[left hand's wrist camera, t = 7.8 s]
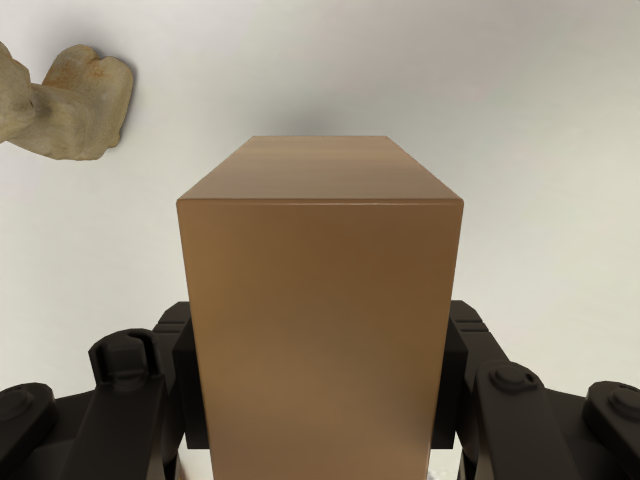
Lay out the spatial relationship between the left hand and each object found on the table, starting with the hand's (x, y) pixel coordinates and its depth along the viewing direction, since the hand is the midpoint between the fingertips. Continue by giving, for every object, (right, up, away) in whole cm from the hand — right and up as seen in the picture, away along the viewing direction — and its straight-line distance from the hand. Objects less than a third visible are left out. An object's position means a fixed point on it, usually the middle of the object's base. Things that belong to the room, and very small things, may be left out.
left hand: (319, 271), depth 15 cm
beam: (0, -25, +11) cm, 27 cm away
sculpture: (-16, +12, +16) cm, 26 cm away
